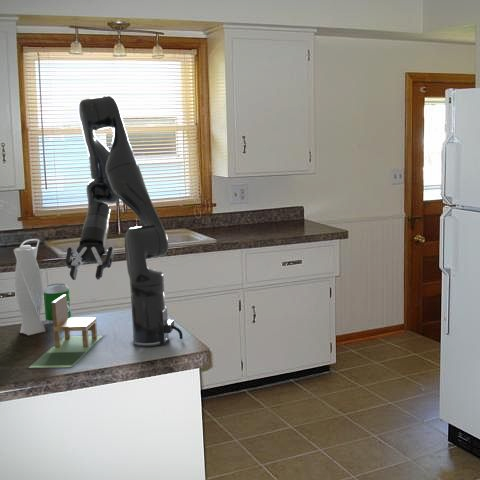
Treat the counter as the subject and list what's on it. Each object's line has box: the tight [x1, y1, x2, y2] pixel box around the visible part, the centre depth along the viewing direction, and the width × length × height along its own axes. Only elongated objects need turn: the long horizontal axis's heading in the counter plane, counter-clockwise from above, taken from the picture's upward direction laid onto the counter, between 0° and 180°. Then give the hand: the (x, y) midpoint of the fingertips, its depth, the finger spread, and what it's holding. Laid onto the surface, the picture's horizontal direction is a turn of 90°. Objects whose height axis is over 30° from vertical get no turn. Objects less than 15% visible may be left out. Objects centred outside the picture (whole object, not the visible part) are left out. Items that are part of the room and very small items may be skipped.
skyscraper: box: [13, 238, 46, 336], centre depth 216 cm, size 8×8×28 cm
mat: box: [28, 334, 104, 369], centre depth 200 cm, size 11×28×1 cm, turn 0°
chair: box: [52, 295, 98, 348], centre depth 205 cm, size 9×9×13 cm
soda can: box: [43, 282, 72, 326], centre depth 227 cm, size 8×8×12 cm
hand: (85, 278), depth 215 cm, fingers open, 6 cm apart
